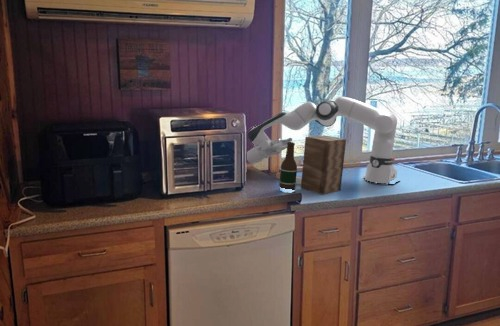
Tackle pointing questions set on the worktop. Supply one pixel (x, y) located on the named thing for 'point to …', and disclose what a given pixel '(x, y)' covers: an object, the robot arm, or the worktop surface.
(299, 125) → the robot arm
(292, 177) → the beer bottle
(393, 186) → the worktop surface
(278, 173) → the bar
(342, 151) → the shelf
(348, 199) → the worktop surface
